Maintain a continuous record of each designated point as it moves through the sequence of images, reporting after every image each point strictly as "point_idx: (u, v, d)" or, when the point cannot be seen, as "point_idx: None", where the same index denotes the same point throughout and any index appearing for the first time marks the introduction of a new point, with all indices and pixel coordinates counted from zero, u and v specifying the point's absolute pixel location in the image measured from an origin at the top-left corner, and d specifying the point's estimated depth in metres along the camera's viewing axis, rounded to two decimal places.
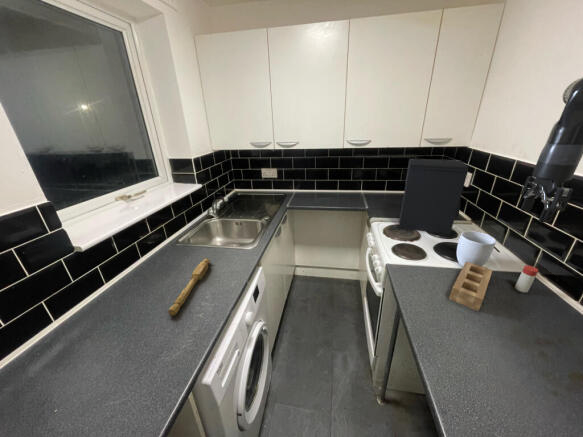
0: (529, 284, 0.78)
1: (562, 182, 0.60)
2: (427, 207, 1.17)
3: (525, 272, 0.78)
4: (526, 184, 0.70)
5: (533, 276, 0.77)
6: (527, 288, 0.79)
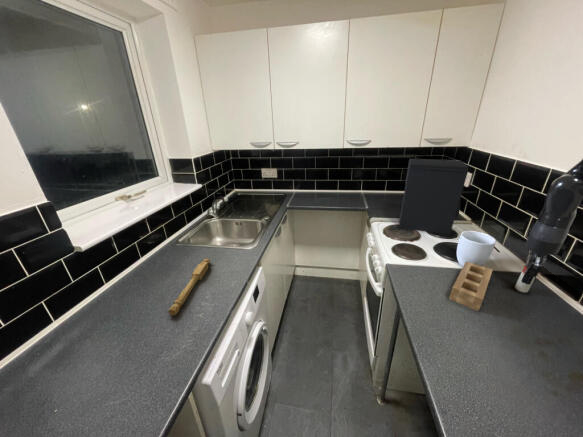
0: (529, 284, 0.78)
1: (542, 255, 0.72)
2: (427, 207, 1.17)
3: None
4: None
5: None
6: (527, 288, 0.79)
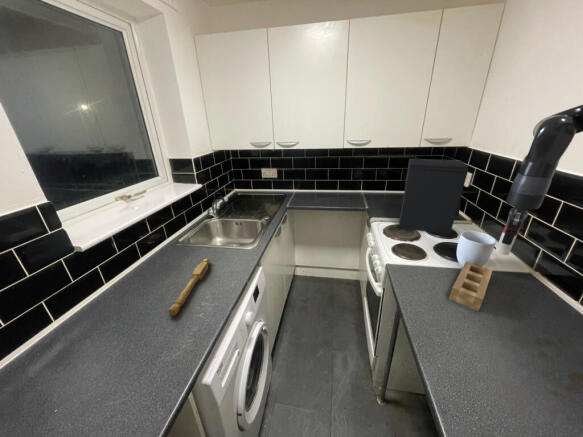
0: (510, 245, 0.73)
1: (523, 209, 0.66)
2: (427, 207, 1.17)
3: None
4: None
5: (514, 236, 0.71)
6: (507, 249, 0.73)
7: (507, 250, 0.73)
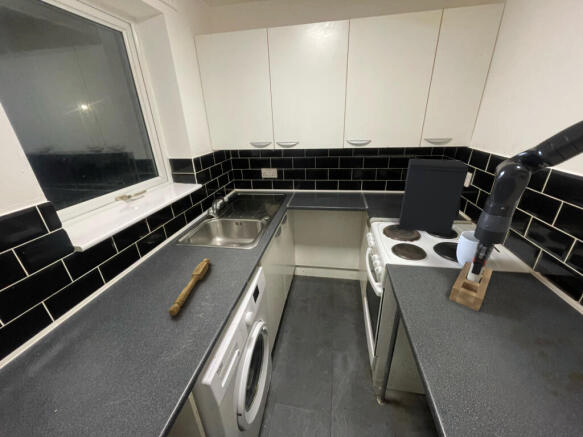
0: (478, 275, 0.77)
1: (487, 244, 0.71)
2: (427, 207, 1.17)
3: None
4: None
5: None
6: (477, 278, 0.78)
7: (476, 279, 0.78)
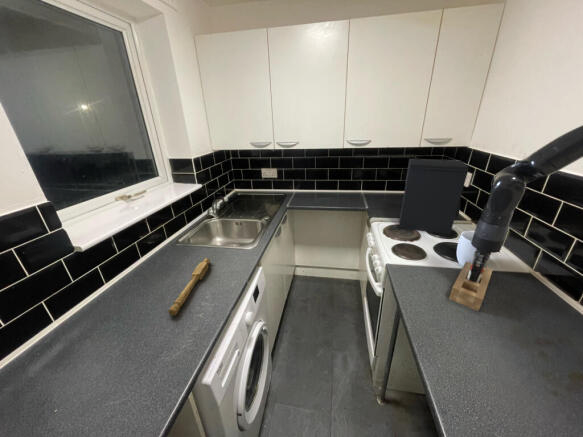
0: (476, 282, 0.79)
1: (484, 252, 0.72)
2: (427, 207, 1.17)
3: None
4: None
5: None
6: None
7: None
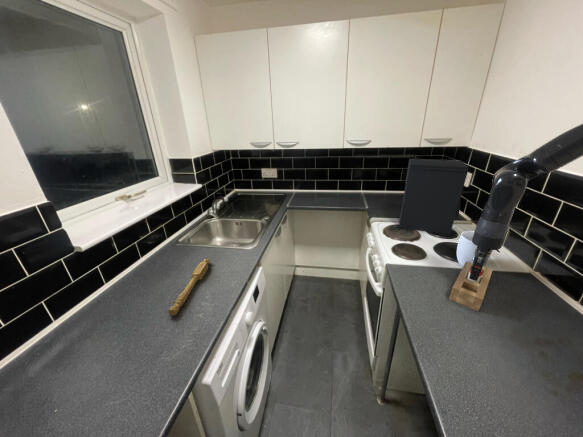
0: None
1: (485, 250, 0.72)
2: (427, 207, 1.17)
3: None
4: None
5: None
6: None
7: None
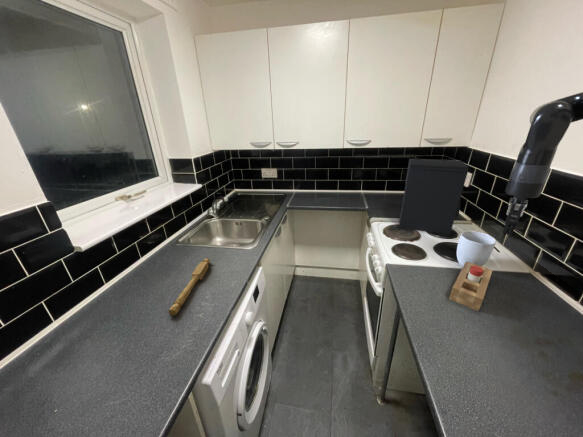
0: None
1: (522, 198, 0.65)
2: (427, 207, 1.17)
3: (471, 272, 0.79)
4: None
5: (478, 276, 0.78)
6: None
7: None
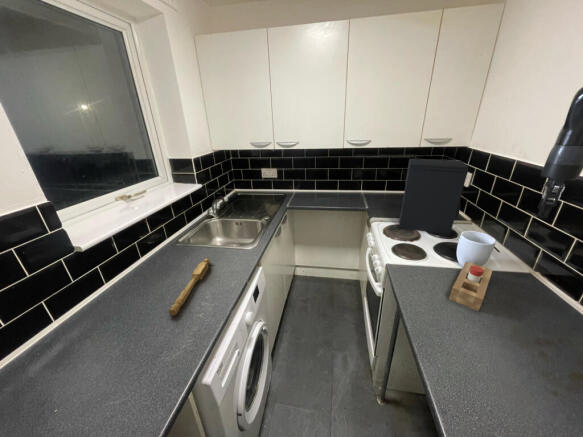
0: None
1: (561, 181, 0.65)
2: (427, 207, 1.17)
3: (471, 272, 0.79)
4: None
5: (478, 276, 0.78)
6: None
7: None
